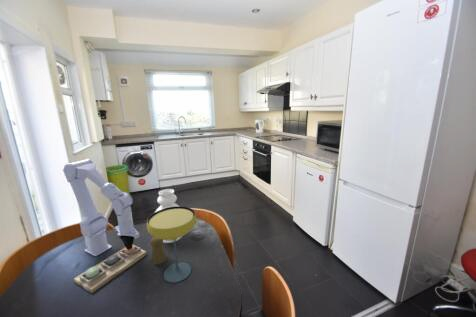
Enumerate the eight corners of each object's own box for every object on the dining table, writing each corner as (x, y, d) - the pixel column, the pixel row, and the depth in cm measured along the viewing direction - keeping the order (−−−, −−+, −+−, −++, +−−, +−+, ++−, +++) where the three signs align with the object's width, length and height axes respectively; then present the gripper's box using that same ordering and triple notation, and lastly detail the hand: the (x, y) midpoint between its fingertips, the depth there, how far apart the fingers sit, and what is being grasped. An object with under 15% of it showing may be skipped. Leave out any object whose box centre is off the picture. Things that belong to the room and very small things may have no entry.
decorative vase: (183, 246, 103) (178, 198, 97) (147, 246, 103) (140, 199, 98) (191, 226, 120) (188, 185, 115) (160, 227, 120) (155, 185, 115)
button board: (74, 281, 82) (73, 275, 82) (130, 247, 103) (129, 241, 102) (91, 293, 77) (90, 286, 76) (146, 254, 97) (146, 248, 97)
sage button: (83, 276, 82) (82, 272, 81) (95, 269, 85) (94, 265, 85) (90, 280, 80) (89, 276, 79) (101, 272, 83) (101, 268, 83)
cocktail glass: (207, 261, 92) (203, 208, 86) (185, 295, 75) (178, 232, 69) (171, 254, 97) (166, 204, 92) (143, 284, 80) (134, 225, 75)
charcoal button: (104, 263, 89) (103, 259, 88) (114, 257, 92) (114, 253, 92) (110, 267, 87) (110, 262, 86) (121, 260, 90) (120, 256, 90)
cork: (161, 265, 90) (158, 242, 88) (148, 263, 91) (145, 241, 89) (168, 255, 96) (166, 234, 94) (156, 254, 97) (154, 233, 95)
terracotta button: (122, 253, 96) (122, 250, 95) (131, 248, 99) (131, 244, 99) (128, 256, 94) (128, 252, 93) (137, 251, 97) (137, 247, 97)
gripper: (106, 221, 93) (111, 248, 96) (127, 229, 86) (131, 258, 89) (121, 214, 99) (125, 240, 102) (142, 221, 92) (145, 248, 95)
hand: (129, 248), depth 96 cm, fingers closed
